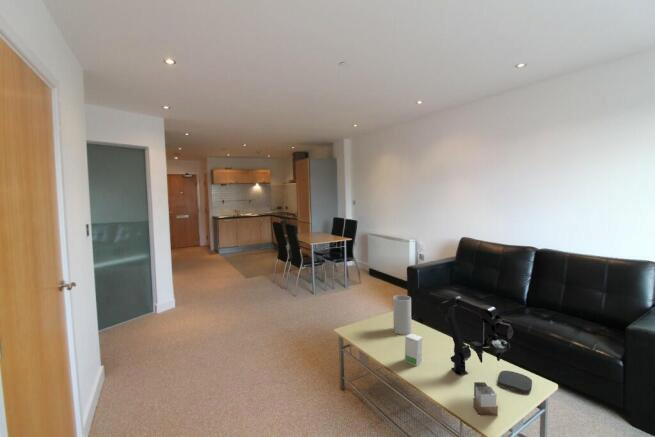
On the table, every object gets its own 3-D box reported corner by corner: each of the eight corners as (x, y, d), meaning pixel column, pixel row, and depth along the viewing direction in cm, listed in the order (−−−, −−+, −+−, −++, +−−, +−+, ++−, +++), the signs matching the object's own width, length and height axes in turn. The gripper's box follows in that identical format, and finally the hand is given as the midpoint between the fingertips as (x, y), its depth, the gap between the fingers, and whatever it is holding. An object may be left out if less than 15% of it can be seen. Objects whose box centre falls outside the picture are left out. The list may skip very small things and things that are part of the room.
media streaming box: (501, 373, 175) (501, 367, 174) (533, 382, 166) (533, 376, 165) (496, 385, 163) (496, 380, 163) (529, 396, 154) (529, 390, 154)
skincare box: (404, 361, 189) (404, 336, 187) (410, 357, 193) (409, 332, 192) (417, 366, 183) (417, 340, 182) (422, 361, 188) (422, 336, 187)
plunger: (474, 396, 150) (474, 382, 150) (484, 396, 150) (484, 382, 150) (481, 407, 142) (481, 392, 142) (492, 407, 142) (492, 392, 142)
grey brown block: (473, 407, 147) (473, 385, 146) (491, 407, 147) (492, 386, 146) (478, 416, 141) (478, 394, 140) (498, 416, 141) (498, 394, 140)
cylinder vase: (390, 331, 230) (389, 297, 228) (400, 326, 239) (399, 293, 237) (404, 336, 221) (404, 301, 219) (414, 331, 229) (414, 297, 227)
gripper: (481, 340, 152) (481, 371, 153) (517, 337, 154) (517, 368, 155) (468, 330, 163) (469, 360, 164) (502, 328, 165) (502, 357, 166)
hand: (489, 361), depth 162 cm, fingers open, 9 cm apart
